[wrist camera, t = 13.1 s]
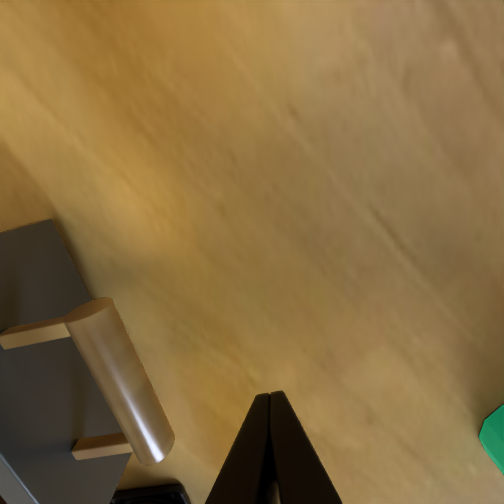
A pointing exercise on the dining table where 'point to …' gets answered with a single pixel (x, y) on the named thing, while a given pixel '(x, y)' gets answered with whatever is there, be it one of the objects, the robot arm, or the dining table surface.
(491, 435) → the candle
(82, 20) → the dining table surface
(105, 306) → the drawer
